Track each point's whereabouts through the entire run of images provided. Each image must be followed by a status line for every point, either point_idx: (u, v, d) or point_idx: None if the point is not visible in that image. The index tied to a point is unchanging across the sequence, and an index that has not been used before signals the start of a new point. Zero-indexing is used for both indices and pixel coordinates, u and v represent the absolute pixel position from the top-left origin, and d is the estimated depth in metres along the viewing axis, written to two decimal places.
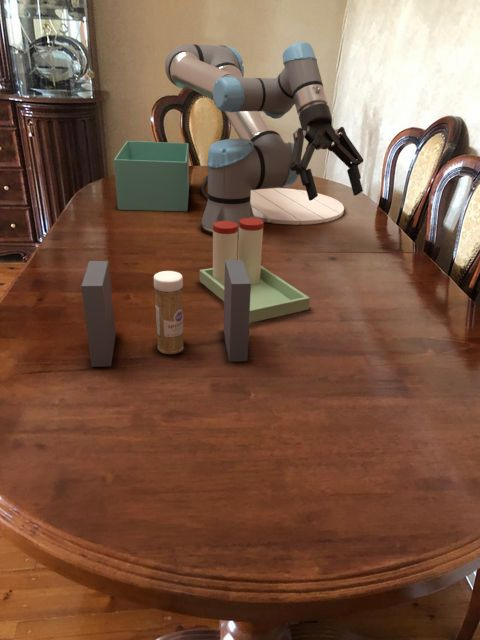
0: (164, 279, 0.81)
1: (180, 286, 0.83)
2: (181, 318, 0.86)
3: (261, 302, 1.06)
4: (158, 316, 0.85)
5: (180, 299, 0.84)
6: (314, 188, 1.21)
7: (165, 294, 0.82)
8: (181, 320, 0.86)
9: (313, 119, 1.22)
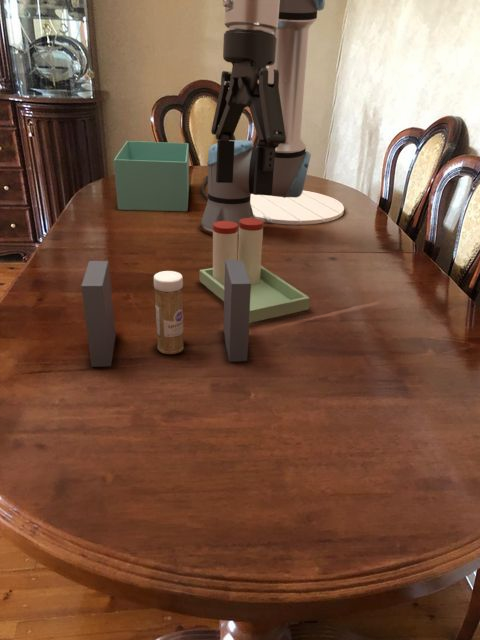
0: (164, 279, 0.81)
1: (180, 286, 0.83)
2: (181, 318, 0.86)
3: (261, 302, 1.06)
4: (159, 316, 0.85)
5: (180, 299, 0.84)
6: (217, 171, 0.86)
7: (165, 294, 0.82)
8: (181, 320, 0.86)
9: None
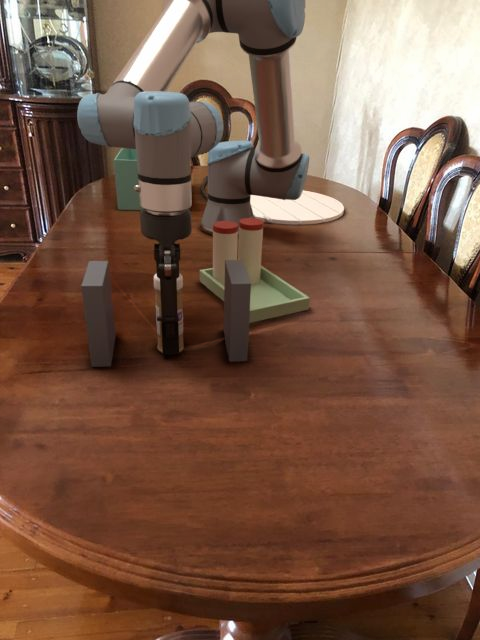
0: None
1: (180, 286, 0.83)
2: (181, 318, 0.86)
3: (261, 302, 1.06)
4: None
5: (180, 299, 0.84)
6: None
7: None
8: (181, 320, 0.86)
9: None
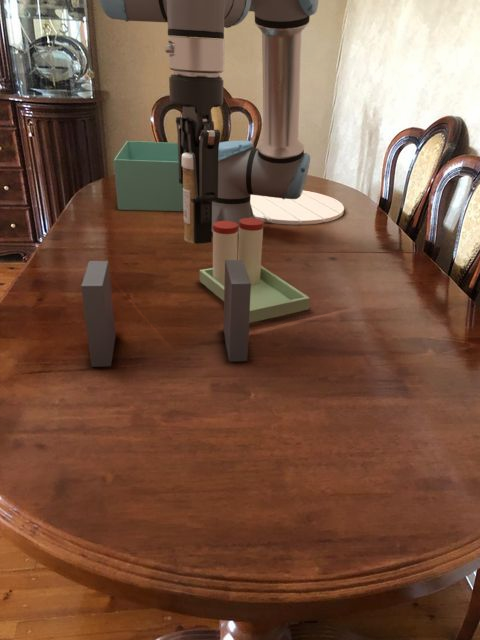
0: None
1: None
2: None
3: (261, 302, 1.06)
4: (189, 201, 0.80)
5: None
6: None
7: None
8: None
9: None
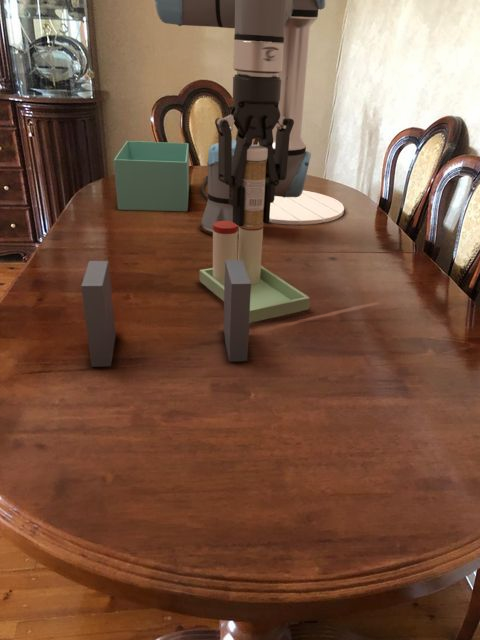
0: None
1: None
2: None
3: (261, 302, 1.06)
4: (264, 188, 0.89)
5: None
6: (241, 216, 0.90)
7: None
8: None
9: (248, 101, 0.80)
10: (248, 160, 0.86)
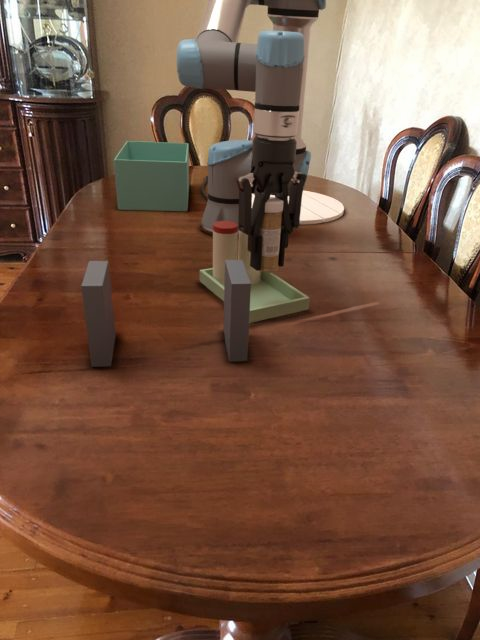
0: None
1: None
2: None
3: (261, 302, 1.06)
4: None
5: None
6: (259, 261, 0.98)
7: None
8: None
9: (267, 162, 0.88)
10: (266, 212, 0.94)
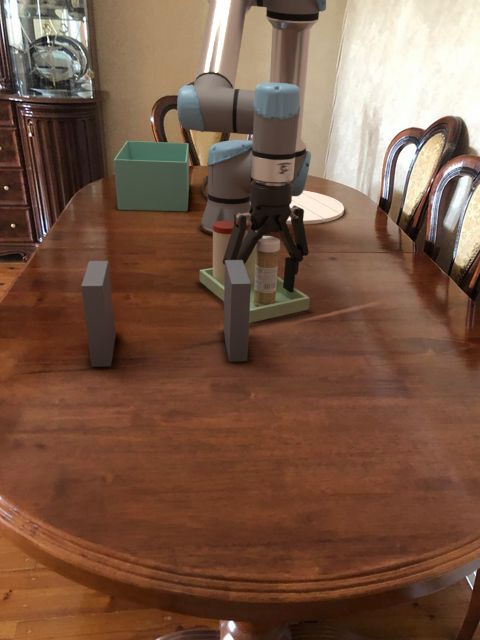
0: (277, 239, 0.99)
1: None
2: None
3: None
4: None
5: None
6: None
7: None
8: None
9: (265, 206, 0.92)
10: (263, 252, 0.97)
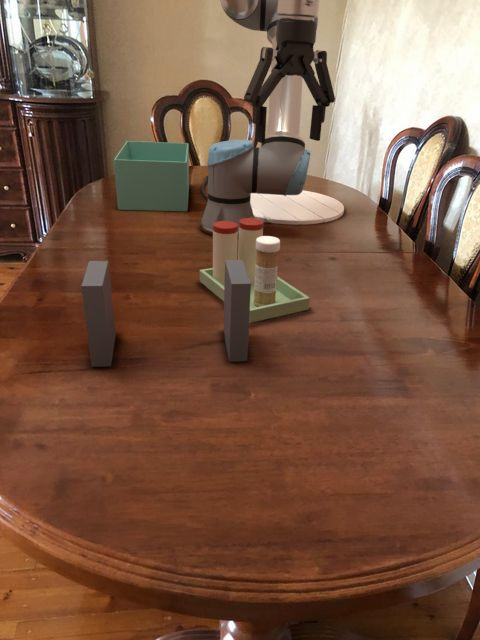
0: (277, 239, 0.99)
1: None
2: None
3: None
4: None
5: None
6: (263, 133, 1.03)
7: None
8: None
9: (290, 40, 0.96)
10: (263, 252, 0.97)
